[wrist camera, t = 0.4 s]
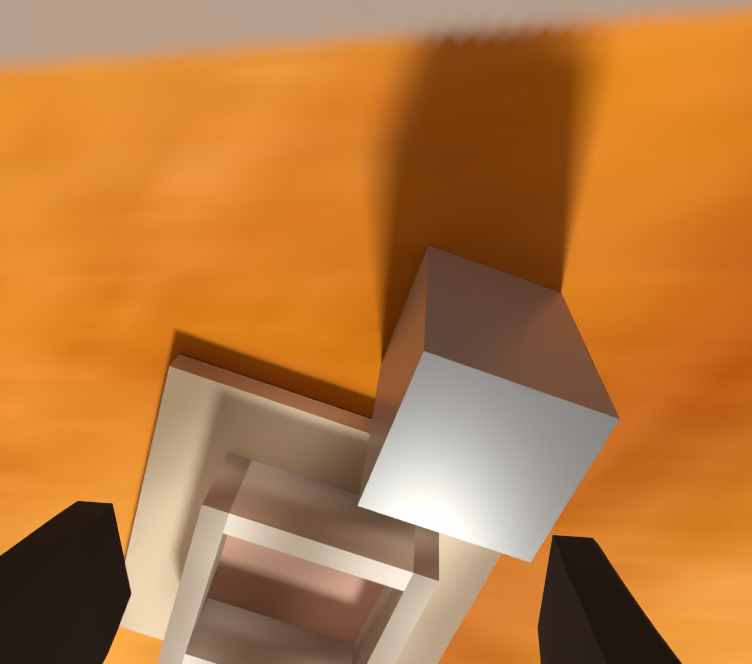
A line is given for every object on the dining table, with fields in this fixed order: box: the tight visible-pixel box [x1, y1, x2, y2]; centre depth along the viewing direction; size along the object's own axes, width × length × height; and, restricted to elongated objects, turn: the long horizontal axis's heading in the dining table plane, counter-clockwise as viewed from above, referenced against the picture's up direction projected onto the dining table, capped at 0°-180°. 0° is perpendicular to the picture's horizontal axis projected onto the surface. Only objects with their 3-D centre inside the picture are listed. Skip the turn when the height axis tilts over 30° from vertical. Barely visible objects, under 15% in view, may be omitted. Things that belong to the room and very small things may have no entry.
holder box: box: [119, 354, 502, 664], centre depth 22 cm, size 12×12×3 cm
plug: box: [358, 245, 619, 562], centre depth 16 cm, size 4×4×6 cm
